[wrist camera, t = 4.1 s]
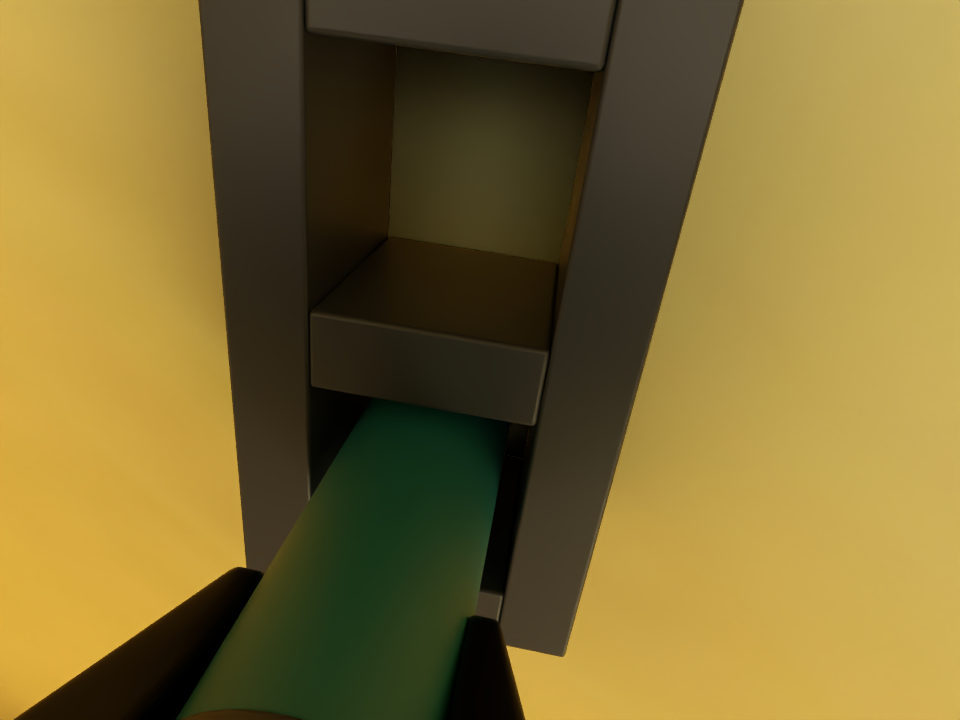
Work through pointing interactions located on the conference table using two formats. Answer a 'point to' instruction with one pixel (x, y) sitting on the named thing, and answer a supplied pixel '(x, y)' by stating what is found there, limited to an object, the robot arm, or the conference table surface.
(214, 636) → the robot arm
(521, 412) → the organiser
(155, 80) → the conference table surface
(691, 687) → the conference table surface
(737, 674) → the conference table surface
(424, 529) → the capped tube
